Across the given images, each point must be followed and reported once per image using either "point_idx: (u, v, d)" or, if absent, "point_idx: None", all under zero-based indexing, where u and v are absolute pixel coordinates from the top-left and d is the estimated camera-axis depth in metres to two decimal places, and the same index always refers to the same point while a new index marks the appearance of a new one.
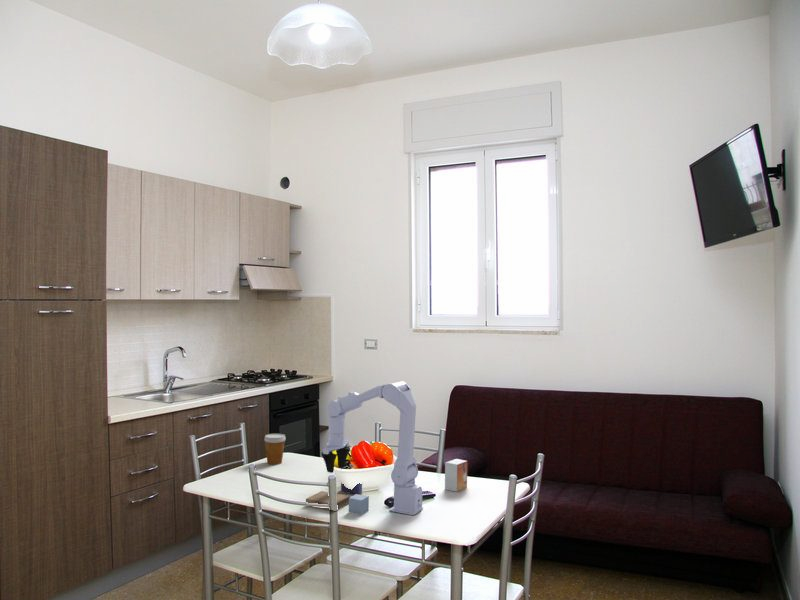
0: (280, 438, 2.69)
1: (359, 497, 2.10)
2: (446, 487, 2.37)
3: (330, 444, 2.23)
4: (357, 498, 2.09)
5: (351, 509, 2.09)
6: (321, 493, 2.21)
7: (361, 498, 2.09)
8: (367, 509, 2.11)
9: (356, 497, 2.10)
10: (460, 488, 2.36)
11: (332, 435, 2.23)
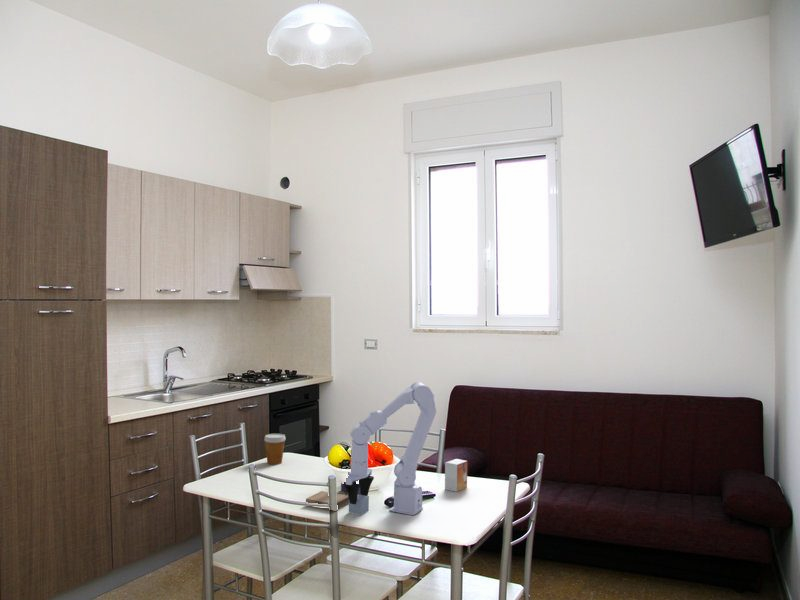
0: (280, 438, 2.69)
1: (359, 497, 2.10)
2: (446, 487, 2.37)
3: (353, 473, 2.09)
4: (357, 498, 2.09)
5: (351, 509, 2.09)
6: (321, 493, 2.21)
7: (361, 498, 2.09)
8: (367, 509, 2.11)
9: None
10: (460, 488, 2.36)
11: (355, 464, 2.08)
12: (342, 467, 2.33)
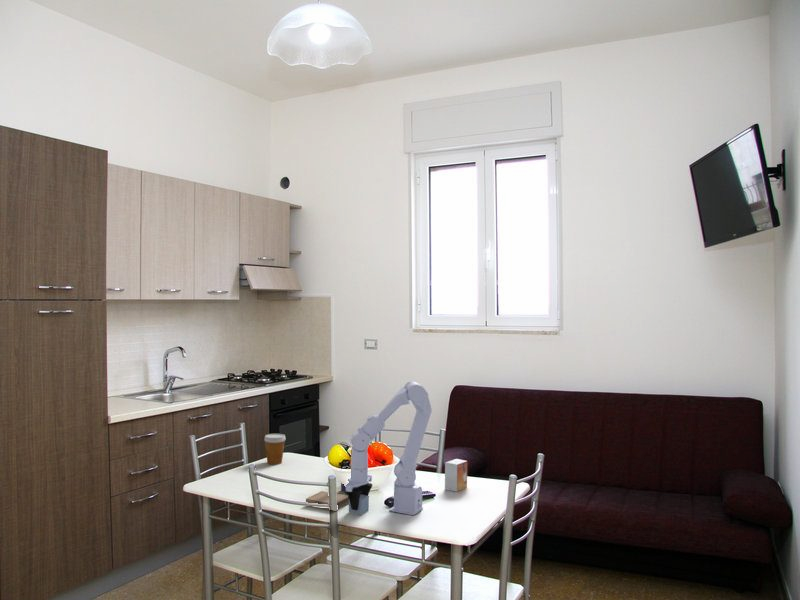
0: (280, 438, 2.69)
1: None
2: (446, 487, 2.37)
3: (353, 480, 2.09)
4: None
5: (351, 509, 2.09)
6: (321, 493, 2.21)
7: (361, 498, 2.09)
8: (367, 509, 2.11)
9: None
10: (460, 488, 2.36)
11: (355, 471, 2.08)
12: (342, 467, 2.33)
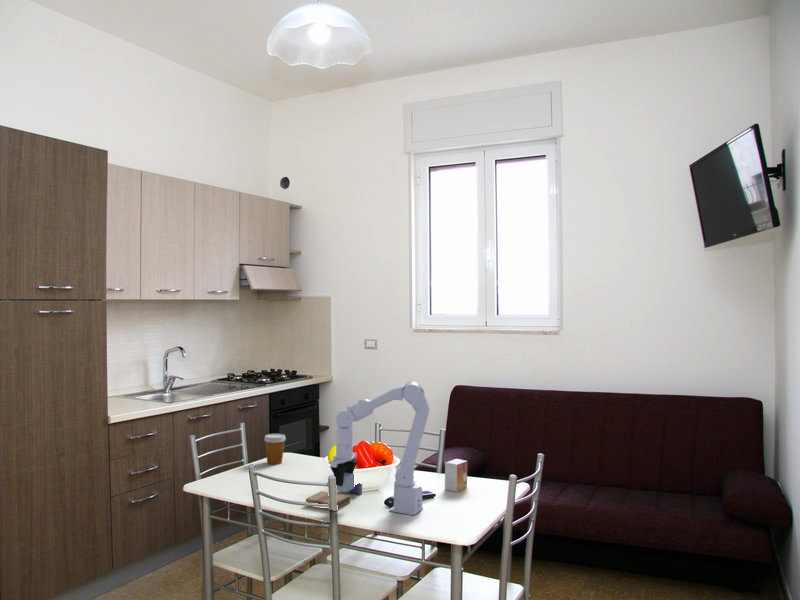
0: (280, 438, 2.69)
1: (345, 475, 2.13)
2: (446, 487, 2.37)
3: (338, 456, 2.12)
4: None
5: (337, 487, 2.12)
6: (321, 493, 2.21)
7: (346, 476, 2.12)
8: (352, 487, 2.14)
9: None
10: (460, 488, 2.36)
11: (340, 447, 2.11)
12: None
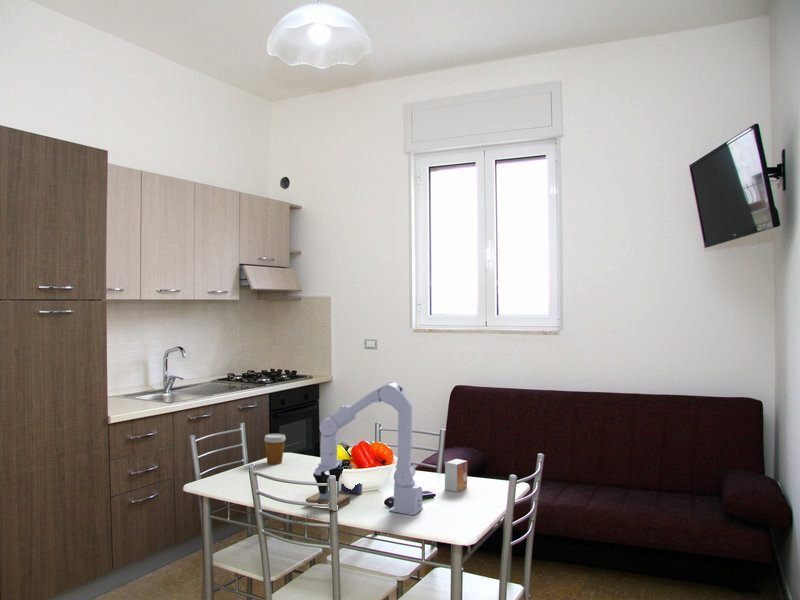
0: (280, 438, 2.69)
1: None
2: (446, 487, 2.37)
3: (322, 464, 2.15)
4: None
5: (322, 495, 2.15)
6: None
7: None
8: (337, 495, 2.17)
9: None
10: (460, 488, 2.36)
11: (324, 455, 2.15)
12: None
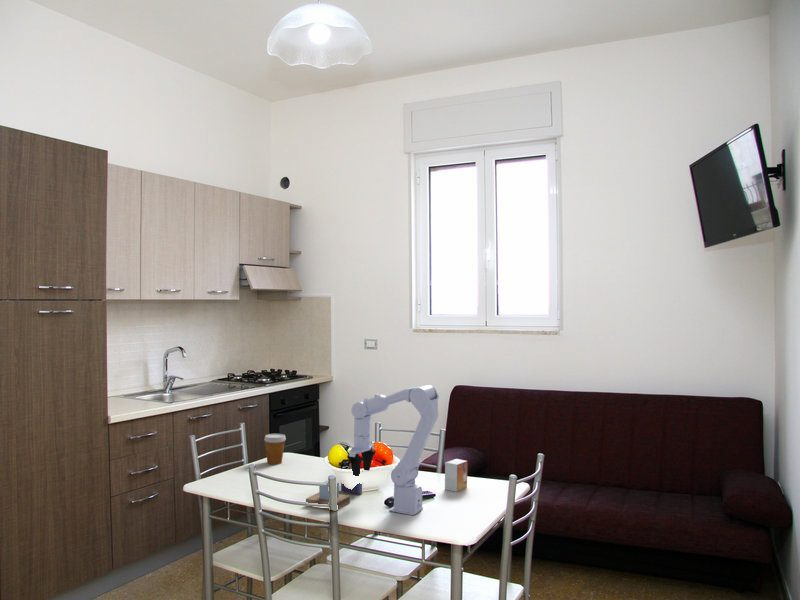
0: (280, 438, 2.69)
1: None
2: (446, 487, 2.37)
3: (356, 446, 2.19)
4: None
5: (322, 495, 2.15)
6: None
7: None
8: (337, 495, 2.17)
9: None
10: (460, 488, 2.36)
11: (358, 438, 2.19)
12: (342, 467, 2.33)
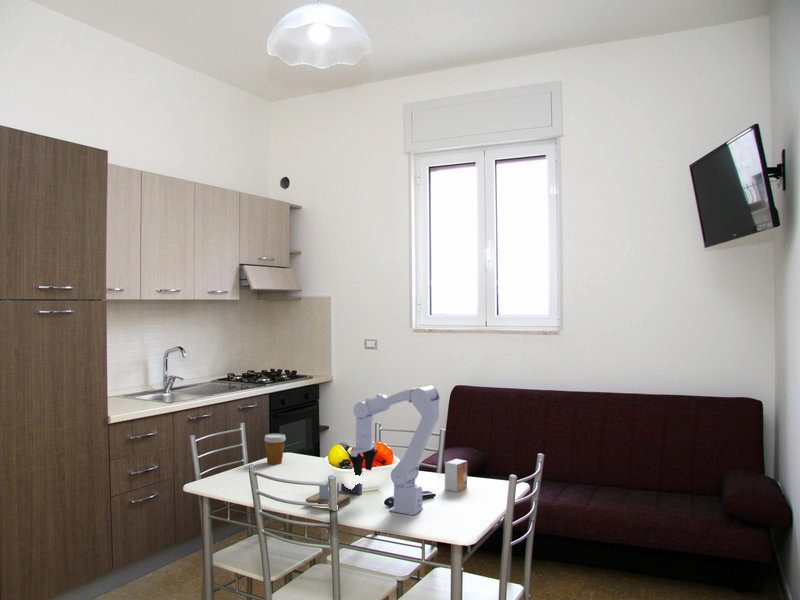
0: (280, 438, 2.69)
1: None
2: (446, 487, 2.37)
3: (358, 446, 2.19)
4: None
5: (322, 495, 2.15)
6: None
7: None
8: (337, 495, 2.17)
9: None
10: (460, 488, 2.36)
11: (360, 437, 2.19)
12: (342, 467, 2.33)
